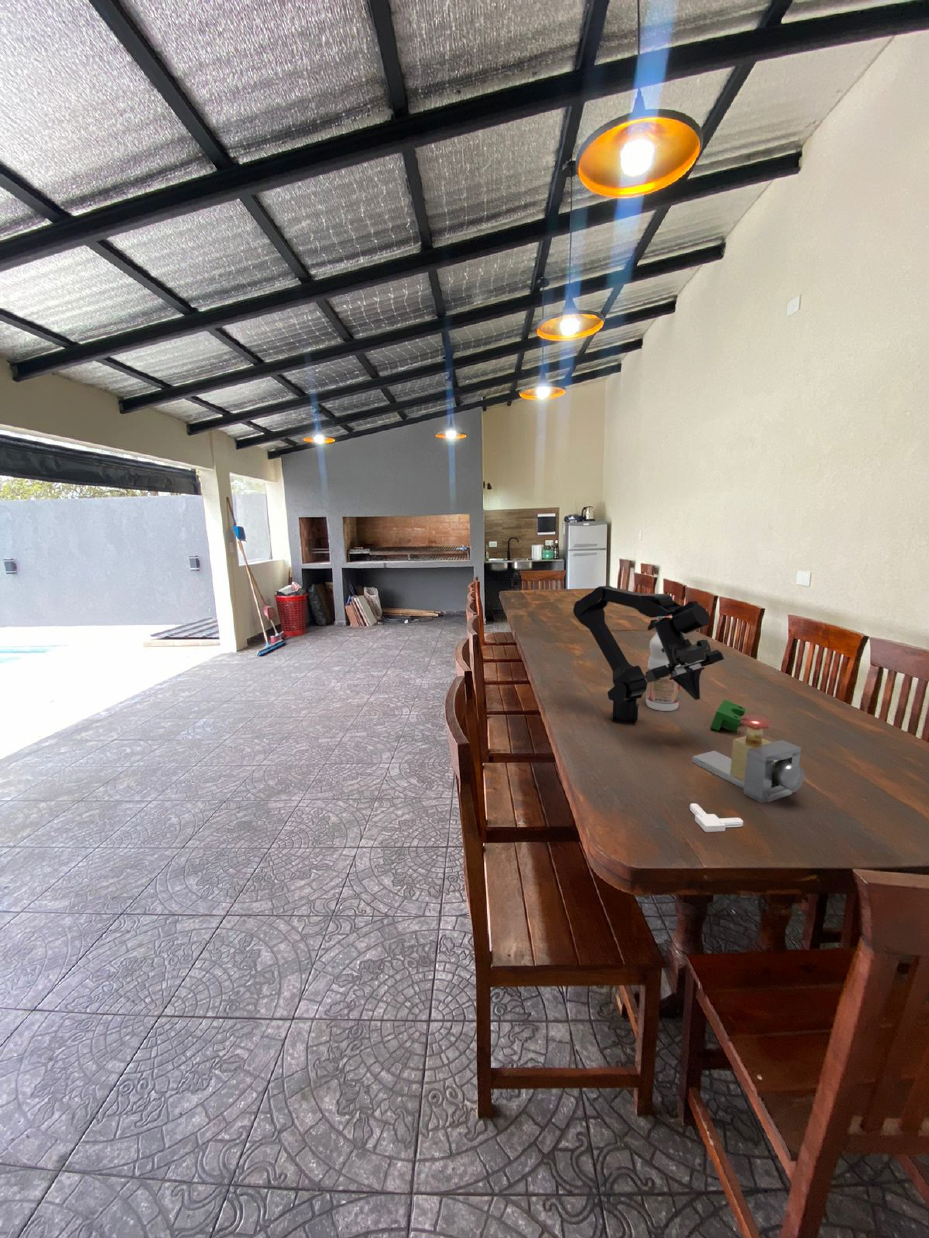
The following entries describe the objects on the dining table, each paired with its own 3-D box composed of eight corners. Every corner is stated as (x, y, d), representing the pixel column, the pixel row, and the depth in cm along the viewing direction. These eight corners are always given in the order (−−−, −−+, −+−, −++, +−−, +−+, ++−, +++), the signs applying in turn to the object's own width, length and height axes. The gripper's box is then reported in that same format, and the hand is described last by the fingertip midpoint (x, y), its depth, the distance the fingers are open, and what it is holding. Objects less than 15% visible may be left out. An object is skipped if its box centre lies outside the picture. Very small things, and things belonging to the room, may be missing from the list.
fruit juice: (639, 702, 157) (644, 614, 152) (665, 699, 160) (670, 613, 154) (658, 713, 148) (663, 620, 143) (685, 709, 151) (691, 618, 145)
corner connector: (722, 808, 99) (723, 800, 99) (747, 832, 92) (748, 824, 91) (683, 810, 99) (684, 802, 99) (705, 834, 91) (705, 826, 91)
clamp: (729, 747, 135) (738, 725, 129) (706, 737, 138) (714, 715, 132) (741, 719, 142) (751, 697, 137) (719, 710, 145) (727, 688, 140)
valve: (728, 773, 109) (733, 717, 107) (748, 767, 111) (753, 713, 109) (761, 789, 102) (768, 730, 100) (781, 783, 104) (788, 725, 102)
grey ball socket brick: (686, 763, 117) (689, 723, 115) (718, 755, 121) (722, 716, 119) (775, 810, 97) (781, 763, 96) (810, 798, 101) (816, 753, 100)
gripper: (651, 642, 118) (677, 706, 114) (722, 621, 121) (750, 683, 116) (634, 652, 129) (657, 711, 125) (700, 633, 131) (725, 691, 127)
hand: (697, 699), depth 123 cm, fingers closed
